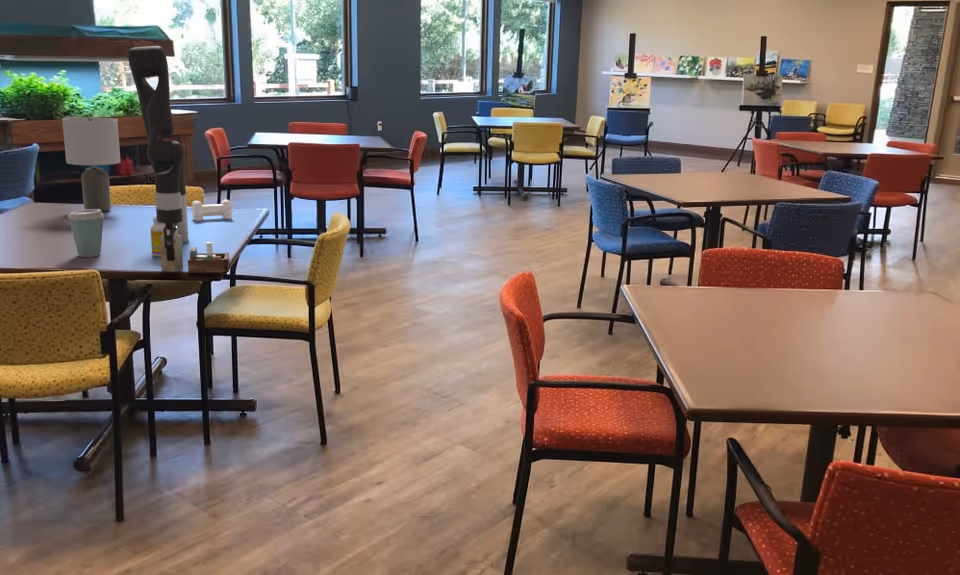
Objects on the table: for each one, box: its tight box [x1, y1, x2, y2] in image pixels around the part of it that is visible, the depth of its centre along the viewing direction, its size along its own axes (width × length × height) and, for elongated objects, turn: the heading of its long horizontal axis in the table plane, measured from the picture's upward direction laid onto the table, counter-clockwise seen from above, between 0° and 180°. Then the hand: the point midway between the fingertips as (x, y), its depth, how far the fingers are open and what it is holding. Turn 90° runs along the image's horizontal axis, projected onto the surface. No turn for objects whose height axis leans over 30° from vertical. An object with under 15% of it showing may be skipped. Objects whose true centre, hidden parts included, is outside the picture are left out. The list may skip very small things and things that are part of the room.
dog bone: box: [191, 199, 234, 222], centre depth 330 cm, size 15×9×8 cm, turn 120°
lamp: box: [61, 116, 122, 214], centre depth 331 cm, size 20×20×39 cm
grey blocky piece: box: [189, 241, 216, 259], centre depth 253 cm, size 6×7×8 cm
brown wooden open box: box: [187, 252, 230, 274], centre depth 254 cm, size 9×12×5 cm
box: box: [160, 235, 184, 272], centre depth 251 cm, size 5×4×11 cm
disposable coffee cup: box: [67, 209, 105, 258], centre depth 263 cm, size 11×11×15 cm
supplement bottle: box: [150, 216, 165, 258], centre depth 268 cm, size 7×7×13 cm
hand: (172, 257), depth 251 cm, fingers open, 8 cm apart
